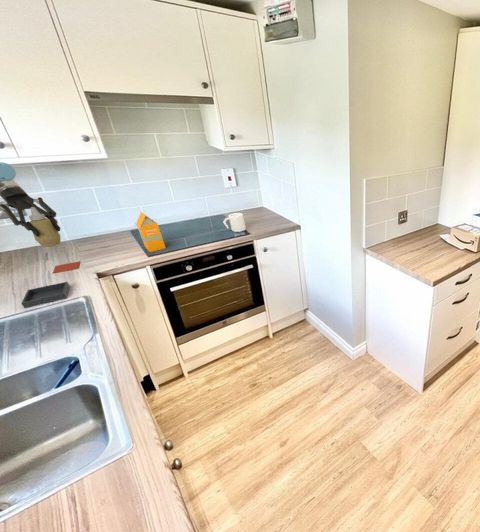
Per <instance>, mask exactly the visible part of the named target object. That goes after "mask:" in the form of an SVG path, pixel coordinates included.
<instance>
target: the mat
mask: <svg viewBox="0 0 480 532" xmlns="http://www.w3.org/2000/svg"><path fill="white" fill-rule="evenodd" d="M80 264H81V261H75V262H74V261H73V262H69V263H68V262H67V263H63V264H58V265H54V269H53V271H52V274H58V273H63V272H67V271H73V270H78V269H79V267H80Z"/></svg>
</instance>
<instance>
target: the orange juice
mask: <svg viewBox="0 0 480 532" xmlns="http://www.w3.org/2000/svg"><path fill="white" fill-rule="evenodd" d="M135 224H136V226H137V230H138V232H139V235H140V237H141V240H142V242H143V244H144V248H145V249H146V250H147V251H148V252H149V253H152V252H156V251H160V250H164V249H166V245H165V242H164V239H163V236H162V233H161V230H160V227H159V224H158V223H157V222H156V221H155V220H154V219H151V218H150V217H149V216H147V215H146V214H145V213H143V211H141V212H140V213H139V216H138V217H137V220H136V222H135Z"/></svg>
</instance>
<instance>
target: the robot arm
mask: <svg viewBox="0 0 480 532" xmlns="http://www.w3.org/2000/svg"><path fill="white" fill-rule="evenodd" d="M16 176H17V172H16V170H15V168H14V167H13V166H12V165H11V164H9V163H7V162H3V161H2V162H1V161H0V197H1V198H2V200H3V201H4V202H5V203H4V204H3V203H1V204H0V210H1V211H3V212H4V213H5V214H6V215H7V216H8V218H9V219H10V220H11V222H12V223H13V225H14V226H21V227H23V228H24V229H26V230H27V231H28V232H29V231H31V232H32V234H33V233H34V234H35V235H36V236H37V237H39V235H40V233H39V232H38V231H37V230H36V229H35V228H34V226H33V225H32V224H31V223H30V221H27V220H26V218H25V215H24V212H23V211H25V210H31V207H35V208H36V210H37V211H38V212H39V213H40V214H44V215H45V217H46V218H48V219H50V221H51V222H52V224H53V225H54V227H55V229H56V230H57V231H58V232H60V231H61V226H60V225H59V224H58V222H59V221H58V220H57V219H56V218H57V212H56V211H55V210H54V209H53V208H51V207H50V206H49V204H47V203H46V202H45V201H44V200H43V197H41V196H40V197H37V198H33V197H32V196H30V195H29V194H28V193H27V192H26V191H25V190H24V189H23V188H22V186H21V185H20V184H18V182H16V180H15V178H16ZM38 205H39V206H40V207H39V206H38ZM11 209H15V210H16V211H17V215H18V218H17V216H16V215H15V214H14V212H13V211H12V210H11Z"/></svg>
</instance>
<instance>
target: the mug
mask: <svg viewBox="0 0 480 532" xmlns="http://www.w3.org/2000/svg"><path fill="white" fill-rule="evenodd" d="M227 221H229V224H230V227H229V225H228V224H227ZM222 223H223V224H224V226H225V227H226V229H229V228H230V229H231V231H232V232H235V233H239V232H243V231H246V228H247V227H246V223H245V217H244V214H243V213H241V212H235V213H233V212H232V213H229V214H228V217H225V218H224V219H223V221H222Z"/></svg>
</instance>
